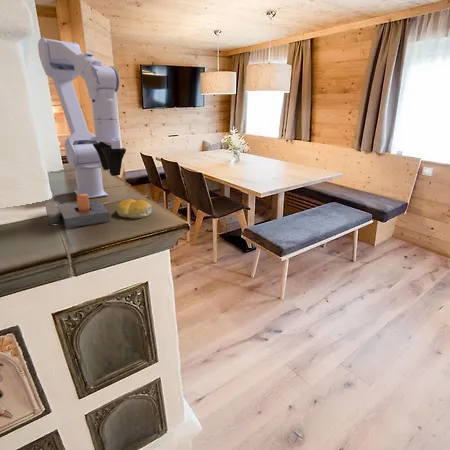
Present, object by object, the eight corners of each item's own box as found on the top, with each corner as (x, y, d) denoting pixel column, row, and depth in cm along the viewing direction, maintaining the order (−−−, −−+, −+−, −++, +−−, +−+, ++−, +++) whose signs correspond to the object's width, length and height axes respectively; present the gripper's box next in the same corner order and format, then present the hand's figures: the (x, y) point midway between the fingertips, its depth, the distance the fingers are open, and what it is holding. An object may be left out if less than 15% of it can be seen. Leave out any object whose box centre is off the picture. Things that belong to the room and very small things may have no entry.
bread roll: (128, 207, 87) (127, 193, 86) (156, 211, 85) (155, 197, 84) (110, 216, 80) (108, 202, 79) (140, 221, 78) (139, 206, 76)
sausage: (78, 217, 78) (74, 195, 76) (88, 215, 80) (85, 193, 77) (82, 220, 76) (78, 197, 74) (92, 218, 78) (89, 195, 76)
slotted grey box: (46, 217, 77) (42, 198, 75) (100, 209, 84) (98, 191, 82) (51, 231, 70) (47, 210, 68) (110, 221, 77) (108, 202, 75)
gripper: (83, 117, 81) (89, 168, 86) (96, 121, 70) (102, 179, 75) (110, 117, 84) (115, 166, 90) (127, 121, 73) (131, 177, 79)
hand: (111, 172), depth 83 cm, fingers open, 7 cm apart
